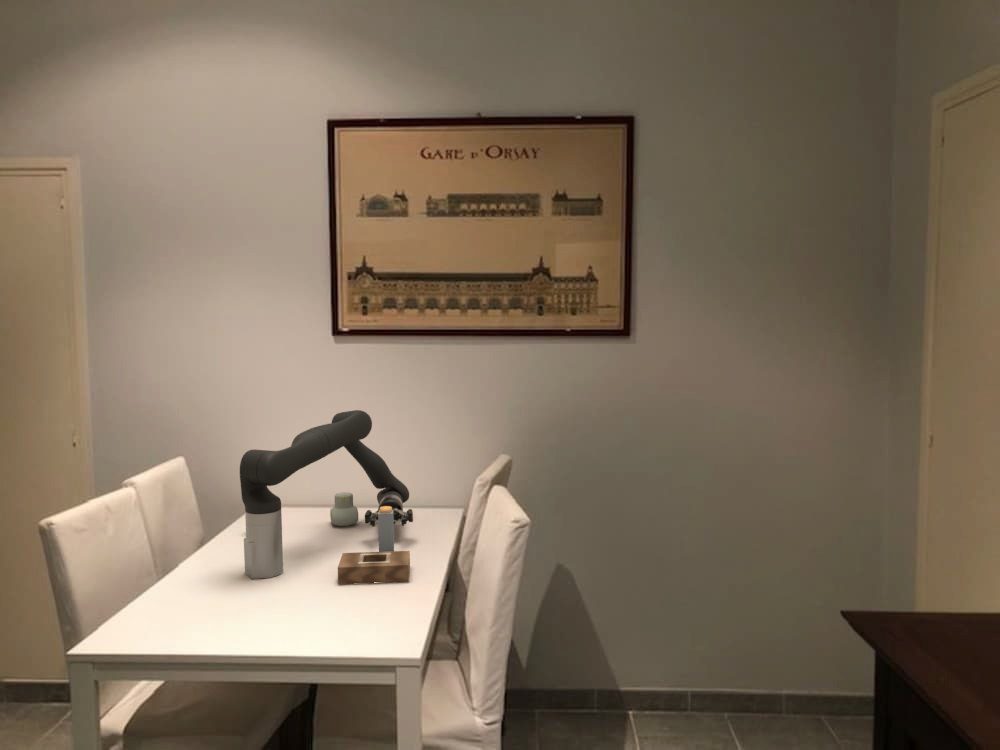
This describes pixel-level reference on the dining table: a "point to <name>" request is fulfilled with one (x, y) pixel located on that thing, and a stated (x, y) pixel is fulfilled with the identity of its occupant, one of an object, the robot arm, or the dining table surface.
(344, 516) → the air freshener
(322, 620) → the dining table surface
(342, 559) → the socket block
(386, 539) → the peg
